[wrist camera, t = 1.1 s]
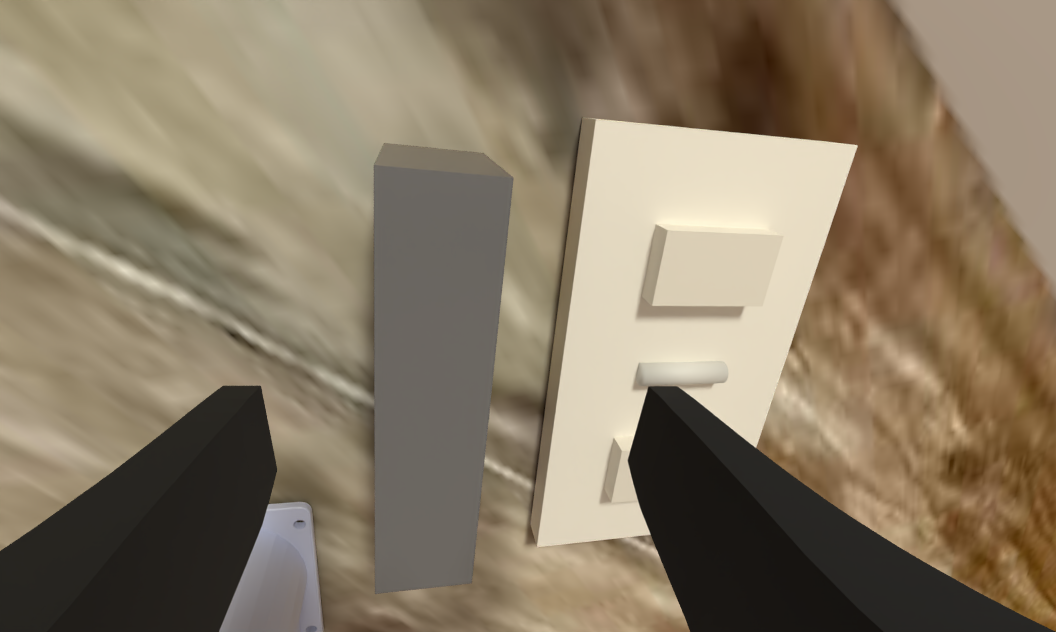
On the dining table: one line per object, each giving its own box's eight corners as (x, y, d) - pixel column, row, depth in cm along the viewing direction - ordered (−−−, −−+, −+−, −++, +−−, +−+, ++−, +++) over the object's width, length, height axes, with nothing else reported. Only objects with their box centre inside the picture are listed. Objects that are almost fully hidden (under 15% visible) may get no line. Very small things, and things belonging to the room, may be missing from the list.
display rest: (714, 505, 29) (740, 540, 27) (530, 524, 26) (541, 564, 24) (829, 141, 21) (878, 147, 19) (582, 117, 18) (606, 120, 16)
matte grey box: (457, 474, 24) (471, 583, 19) (382, 478, 23) (375, 593, 18) (483, 152, 18) (513, 177, 13) (384, 142, 18) (374, 165, 12)
